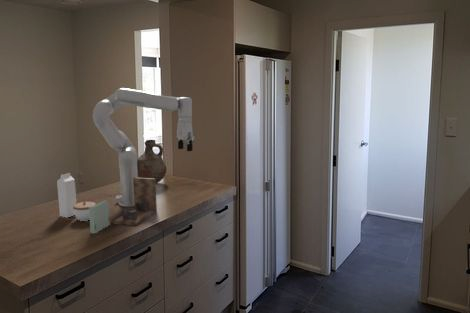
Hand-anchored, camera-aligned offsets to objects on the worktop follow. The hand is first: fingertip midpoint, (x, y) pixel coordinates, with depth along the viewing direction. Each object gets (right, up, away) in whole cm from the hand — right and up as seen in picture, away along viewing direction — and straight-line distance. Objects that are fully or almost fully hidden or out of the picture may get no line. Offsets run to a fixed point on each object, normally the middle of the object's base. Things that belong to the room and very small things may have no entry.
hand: (185, 149), depth 229 cm
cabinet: (-22, -34, -25) cm, 48 cm away
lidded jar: (-46, -35, -27) cm, 64 cm away
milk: (-57, -34, -21) cm, 70 cm away
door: (-34, -37, -41) cm, 65 cm away
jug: (-29, -23, +45) cm, 58 cm away
